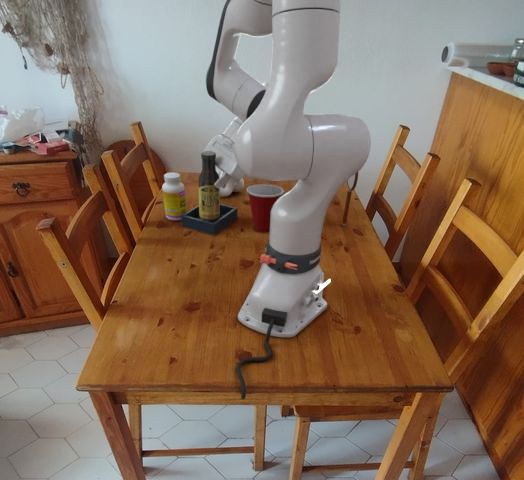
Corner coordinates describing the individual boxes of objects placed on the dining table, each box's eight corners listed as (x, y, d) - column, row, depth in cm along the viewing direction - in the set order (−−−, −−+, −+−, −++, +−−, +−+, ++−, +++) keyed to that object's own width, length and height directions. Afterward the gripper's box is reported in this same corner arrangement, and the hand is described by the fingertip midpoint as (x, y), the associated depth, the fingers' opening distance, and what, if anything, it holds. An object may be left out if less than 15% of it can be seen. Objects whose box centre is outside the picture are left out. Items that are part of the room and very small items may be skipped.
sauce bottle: (201, 226, 125) (196, 157, 112) (198, 217, 129) (193, 150, 116) (222, 224, 126) (220, 155, 113) (218, 215, 131) (216, 148, 118)
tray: (214, 235, 122) (214, 224, 119) (182, 226, 125) (181, 215, 123) (237, 218, 131) (237, 207, 129) (206, 210, 135) (205, 200, 132)
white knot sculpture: (222, 202, 139) (221, 175, 133) (201, 192, 146) (199, 165, 140) (247, 194, 145) (248, 168, 139) (226, 184, 152) (225, 159, 146)
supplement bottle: (183, 222, 127) (179, 180, 119) (162, 220, 128) (157, 178, 119) (189, 213, 132) (186, 172, 124) (169, 211, 133) (164, 170, 124)
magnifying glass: (349, 232, 126) (362, 163, 113) (343, 232, 126) (355, 163, 113) (343, 219, 133) (354, 153, 119) (338, 219, 132) (349, 153, 119)
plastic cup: (282, 221, 130) (285, 182, 122) (280, 237, 122) (282, 197, 114) (248, 219, 131) (248, 180, 123) (243, 234, 123) (243, 194, 115)
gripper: (215, 123, 121) (187, 163, 124) (248, 143, 108) (216, 186, 111) (229, 138, 126) (201, 176, 129) (262, 158, 113) (231, 200, 116)
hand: (208, 181), depth 120 cm, fingers open, 8 cm apart
